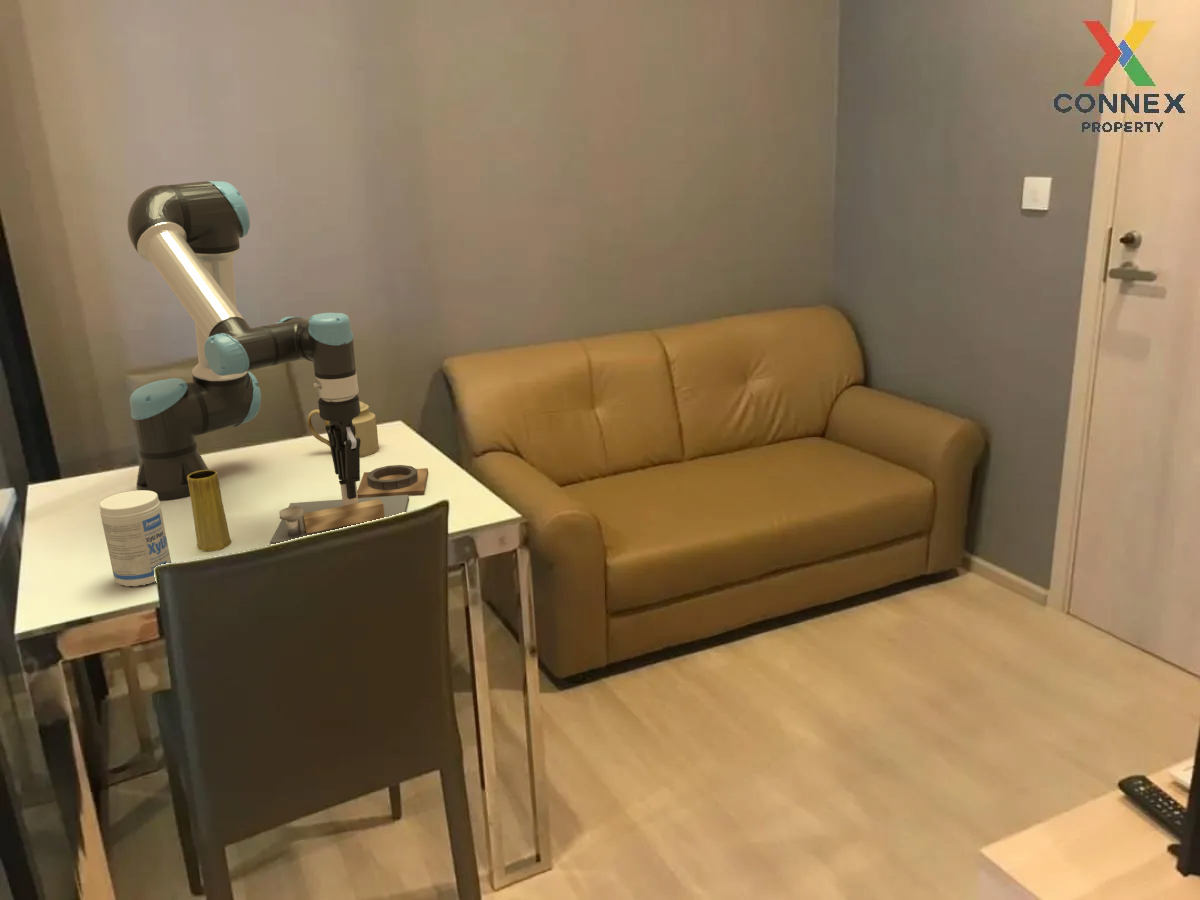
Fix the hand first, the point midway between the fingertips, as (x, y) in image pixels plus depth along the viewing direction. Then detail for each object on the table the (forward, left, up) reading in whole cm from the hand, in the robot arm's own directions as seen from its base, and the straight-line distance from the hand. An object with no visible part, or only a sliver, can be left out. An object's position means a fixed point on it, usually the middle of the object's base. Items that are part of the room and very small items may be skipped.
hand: (351, 512), depth 197 cm
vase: (-25, -6, -3) cm, 26 cm away
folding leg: (-3, -4, -1) cm, 5 cm away
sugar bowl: (-7, +45, -3) cm, 45 cm away
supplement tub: (-34, -18, -3) cm, 39 cm away
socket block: (+6, +20, -2) cm, 21 cm away
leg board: (-2, +1, -2) cm, 3 cm away
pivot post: (-10, -6, -2) cm, 12 cm away
